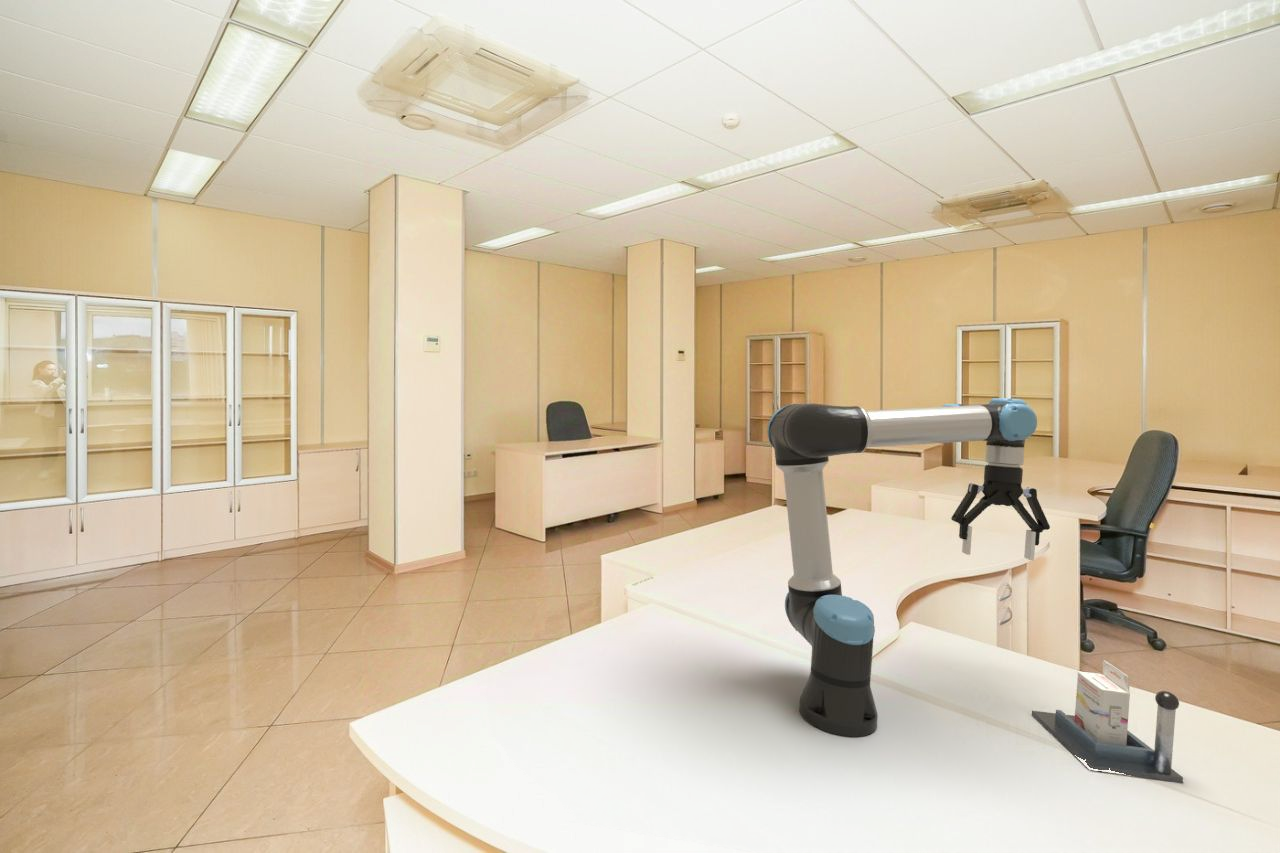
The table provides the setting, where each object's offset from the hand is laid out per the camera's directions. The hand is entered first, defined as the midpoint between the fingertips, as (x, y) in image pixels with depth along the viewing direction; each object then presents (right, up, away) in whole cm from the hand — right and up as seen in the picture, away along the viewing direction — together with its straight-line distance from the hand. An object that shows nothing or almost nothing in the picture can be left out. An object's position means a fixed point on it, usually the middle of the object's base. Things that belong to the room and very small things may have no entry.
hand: (997, 556), depth 134 cm
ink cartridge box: (+7, -32, -21) cm, 39 cm away
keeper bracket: (+7, -32, -21) cm, 39 cm away
